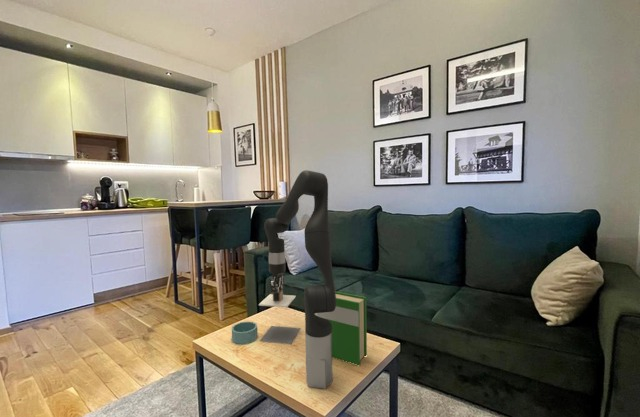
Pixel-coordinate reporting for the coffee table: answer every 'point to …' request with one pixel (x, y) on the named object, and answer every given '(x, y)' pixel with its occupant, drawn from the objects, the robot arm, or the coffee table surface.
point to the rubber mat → (280, 335)
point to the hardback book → (348, 327)
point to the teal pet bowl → (244, 333)
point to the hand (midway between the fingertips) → (277, 298)
